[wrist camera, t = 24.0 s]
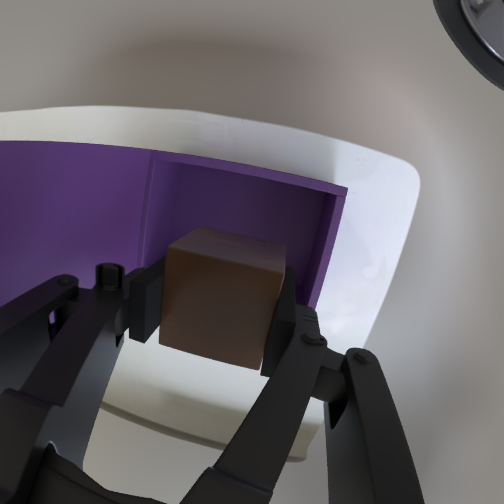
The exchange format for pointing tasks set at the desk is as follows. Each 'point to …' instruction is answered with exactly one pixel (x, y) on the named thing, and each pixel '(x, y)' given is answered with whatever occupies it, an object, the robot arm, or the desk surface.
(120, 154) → the purple hinged box lid
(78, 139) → the desk surface
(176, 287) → the block
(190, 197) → the purple box
